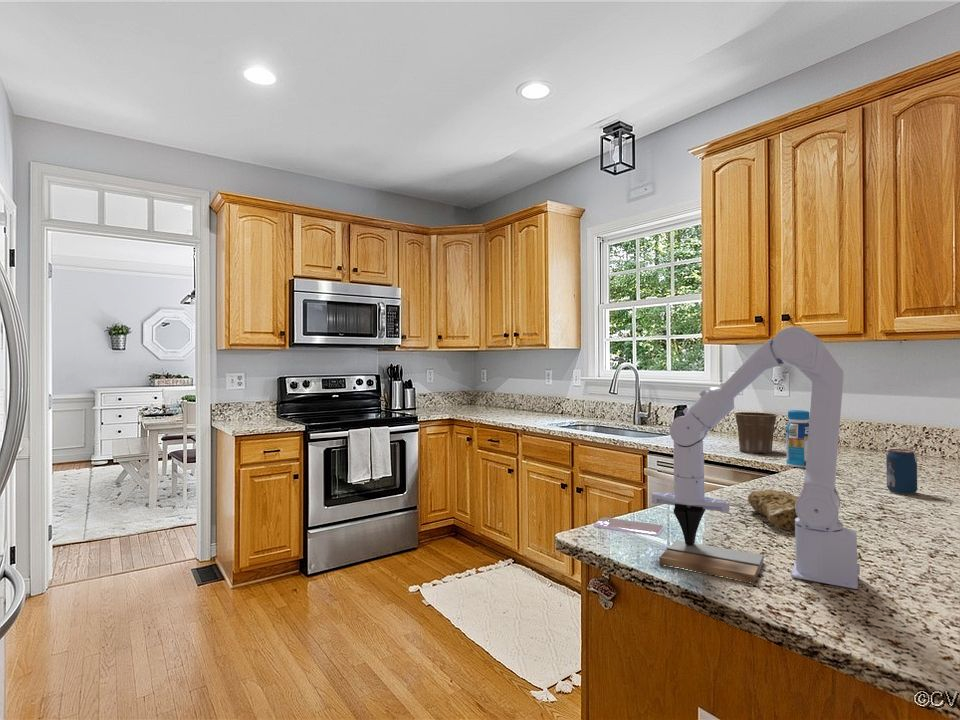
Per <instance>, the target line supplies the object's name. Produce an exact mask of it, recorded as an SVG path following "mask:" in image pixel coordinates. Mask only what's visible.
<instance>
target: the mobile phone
mask: <svg viewBox="0 0 960 720" xmlns="http://www.w3.org/2000/svg"><path fill="white" fill-rule="evenodd" d="M608 520H609V521H608ZM605 521H607V522H605ZM602 522H604V523H602ZM593 527H595V528H598V529H599V528H601V529H607V530H613V531H620V532H628V533H633V534H641V535H647V536H653V537H654V536H655V537H657V535H658V536H660V535H661V534H662V532H663V531H664V530H665V526H664V525H663V524H655V523H648V522H643V521H642V522H640V521H634V520H627V519H620V518H613V517H605V516H604V517H600V518H599V519H598V520H596V521H595V522H594V523H593Z"/></svg>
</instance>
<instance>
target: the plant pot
mask: <svg viewBox="0 0 960 720" xmlns="http://www.w3.org/2000/svg"><path fill="white" fill-rule="evenodd" d="M734 415H735V422H736V424H737V426H736V427H737V436H738V444H739V451H741V452H744V453H749V454H759V453H761V454H771V453H772V452H773V443H774V432H775V425H776V422H777V421H776V420H777V417H778V414H777V413H771V412H770V413H768V412H756V411H755V412H753V411H751V412H750V411H739V412H734Z"/></svg>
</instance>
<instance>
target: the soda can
mask: <svg viewBox="0 0 960 720" xmlns="http://www.w3.org/2000/svg"><path fill="white" fill-rule="evenodd" d="M886 488H887V489H888V490H889V492H890V493H893V494H897V495H898V494H899V495H905V496H906V495H907V496H908V495H909V496H910V495H912V496H913V495H915V493H917V491H918V458H917V456H916V454H915V451H914V450H910V449H901V448H900V449H899V448H890V449H888V452H887V453H886Z"/></svg>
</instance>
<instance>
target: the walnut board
mask: <svg viewBox="0 0 960 720" xmlns="http://www.w3.org/2000/svg"><path fill="white" fill-rule="evenodd" d="M658 561H659V563H658V564H660V565H659V566H661V565H666V566H673V567H679V568H684V569H688V570H692V571H696V572H701V573H706V574H711V575H717V576H723V577H728V578H732V579H737V580H741V581H746V582H751V583H755V584H756V582H757V579H758V577H759V575H758V573H759V574H760V572H759V564H756V563H750V562H745V561H739V560H734V559H728V558H722V557H717V556H711V555H706V554H700V553H694V552H689V551H683V550H678V549H672V548H669V547H666V549H665V551H664V552H663V553H662V554H661V555H659V560H658ZM666 566H665V567H666ZM696 572H695V573H696ZM701 573H700V574H701ZM706 574H705V575H706ZM711 575H710V576H711ZM757 576H758V577H757ZM756 578H757V579H756ZM741 581H740V582H741ZM755 581H756V582H755ZM746 582H745V583H746ZM751 583H750V584H751Z"/></svg>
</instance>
